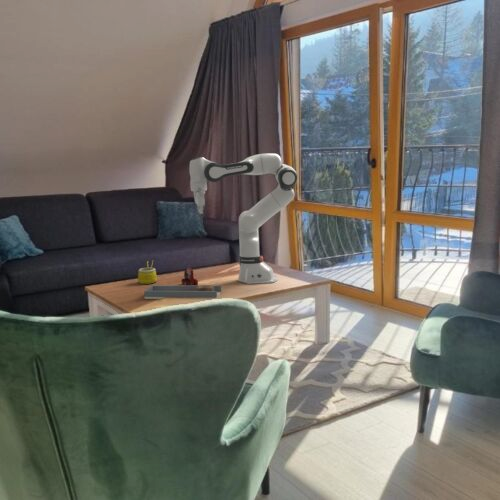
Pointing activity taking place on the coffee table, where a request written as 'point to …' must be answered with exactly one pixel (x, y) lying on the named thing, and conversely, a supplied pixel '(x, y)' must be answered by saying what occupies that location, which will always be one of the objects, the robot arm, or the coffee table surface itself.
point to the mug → (147, 275)
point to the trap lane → (179, 291)
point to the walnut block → (205, 288)
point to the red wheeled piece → (189, 277)
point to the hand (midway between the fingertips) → (200, 212)
